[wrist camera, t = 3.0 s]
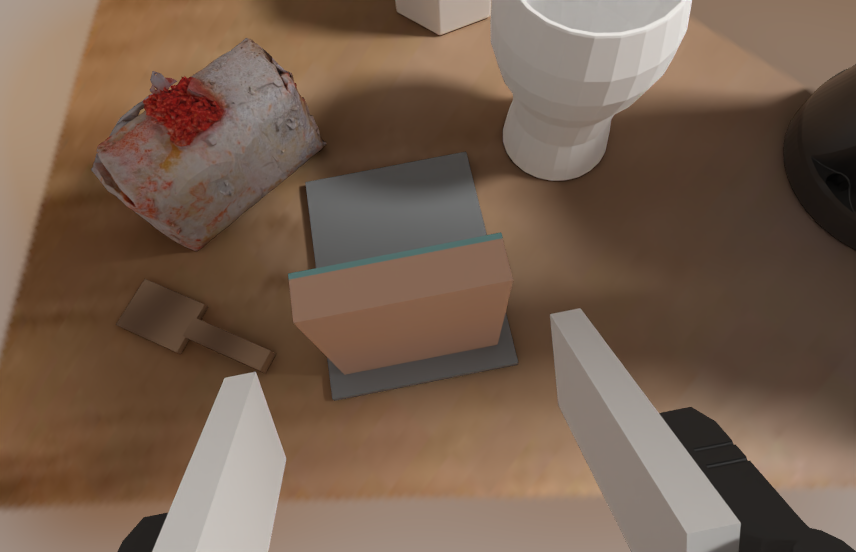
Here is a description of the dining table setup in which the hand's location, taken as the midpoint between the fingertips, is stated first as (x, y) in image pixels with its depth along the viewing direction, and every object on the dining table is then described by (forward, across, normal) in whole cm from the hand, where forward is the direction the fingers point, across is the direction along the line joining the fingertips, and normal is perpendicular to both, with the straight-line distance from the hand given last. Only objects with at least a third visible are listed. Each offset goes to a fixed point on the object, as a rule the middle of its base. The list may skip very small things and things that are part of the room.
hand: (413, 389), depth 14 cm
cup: (+31, +13, -2) cm, 33 cm away
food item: (+32, -12, 0) cm, 34 cm away
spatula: (+23, -15, -8) cm, 29 cm away
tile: (+20, 0, -11) cm, 23 cm away
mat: (+25, 0, -7) cm, 26 cm away
